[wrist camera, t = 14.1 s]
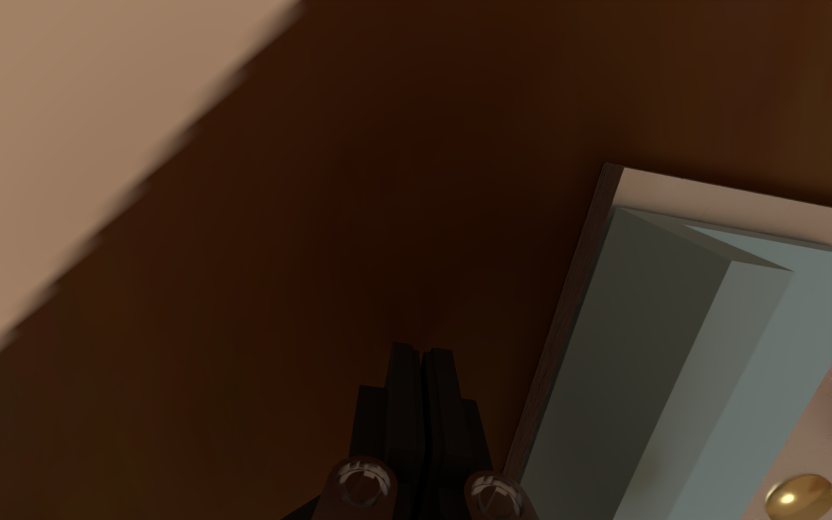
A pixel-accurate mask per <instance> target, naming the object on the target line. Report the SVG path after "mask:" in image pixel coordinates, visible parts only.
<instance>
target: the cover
mask: <svg viewBox="0 0 832 520" xmlns="http://www.w3.org/2000/svg"><path fill="white" fill-rule="evenodd" d="M831 365H832V247H830V246H825V245H820V244H814V243H809V242H804V241H798V240H793V239H787V238H782V237H777V236H771V235H766V234H761V233H755V232H750V231H744V230H739V229H734V228H728V227H723V226H718V225H712V224H707V223H701V222H696V221H691V220H685V219H680V218H675V217H669V216H664V215H659V214H653V213H648V212H642V211H637V210H632V209H626V208H621V207H617V208H616V211H615V214H614V217H613V219H612V222H611V225H610V228H609V231H608V234H607V237H606V240H605V242H604V245H603V248H602V251H601V254H600V257H599V260H598V262H597V265H596V268H595V271H594V274H593V277H592V280H591V282H590V285H589V288H588V291H587V294H586V297H585V300H584V303H583V305H582V308H581V311H580V314H579V317H578V320H577V323H576V325H575V328H574V331H573V334H572V337H571V340H570V343H569V346H568V348H567V351H566V354H565V357H564V360H563V363H562V366H561V368H560V371H559V374H558V377H557V380H556V383H555V386H554V388H553V391H552V394H551V397H550V400H549V403H548V406H547V409H546V411H545V414H544V417H543V420H542V423H541V426H540V429H539V431H538V434H537V437H536V440H535V443H534V446H533V449H532V452H531V454H530V457H529V460H528V463H527V466H526V469H525V472H524V474H523V477H522V480H521V483H520V486H521V487H522V488H523V489H524V491H525V492H526V494H527V495H528V497H529V499H530V501H531V503H532V505H533V507H534V509H535V511H536V513H537V515H538V517H539V520H740V518H741V517H742V515H743V513H744V512H745V510H746V508H747V506H748V505H749V503H750V501H751V500H752V498H753V496H754V495H755V493H756V491H757V490H758V488H759V486H760V485H761V483H762V481H763V479H764V478H765V476H766V474H767V473H768V471H769V469H770V468H771V466H772V464H773V463H774V461H775V459H776V457H777V456H778V454H779V452H780V451H781V449H782V447H783V446H784V444H785V442H786V441H787V439H788V437H789V436H790V434H791V432H792V430H793V429H794V427H795V425H796V424H797V422H798V420H799V419H800V417H801V415H802V414H803V412H804V410H805V408H806V407H807V405H808V403H809V402H810V400H811V398H812V397H813V395H814V393H815V392H816V390H817V388H818V387H819V385H820V383H821V381H822V380H823V378H824V376H825V375H826V373H827V371H828V370H829V368H830V366H831Z"/></svg>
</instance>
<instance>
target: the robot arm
mask: <svg viewBox="0 0 832 520" xmlns="http://www.w3.org/2000/svg"><path fill="white" fill-rule="evenodd" d="M281 520H539V517H538V515H537V513H536V511H535V509H534V507H533V505H532V503H531V501H530V499H529V497H528V495H527V494H526V492H525V491H524V489H523V488H522V487H521V486H520V485H519V484H518V483H517V482H516V481H515V480H513V479H511V478H510V477H508V476H507V475H504V474H502V473H499V472H496V471H493V467H492V463H491V459H490V455H489V451H488V447H487V443H486V439H485V435H484V431H483V427H482V423H481V419H480V415H479V411H478V407H477V404H476V401H474V400H469V399H461V394H460V389H459V384H458V379H457V374H456V369H455V364H454V359H453V354H452V351H451V350H445V349H438V348H432V349H431V352H424V354H423V358H422V363H421V367H420V357H419V351H416V350H413V347H412V345H410V344H403V343H396V342H393V345H392V350H391V355H390V360H389V366H388V371H387V377H386V382H385V387H384V388H379V387H371V386H364V385H360V387H359V393H358V399H357V406H356V412H355V418H354V424H353V431H352V437H351V443H350V450H349V456H348V458H346V459H344V460H341V461H340V462H339V463H338V464H336V465H335V466H334V467H333V469H332V470H331V472H330V474H329V476H328V478H327V481H326V483H325V486H324V488H323V491H322V493H321V495H319V496H318V497H316V498H314V499H313V500H311V501H310V502H308V503H306V504H305V505H303V506H302V507H300V508H298V509H297V510H295V511H294V512H292V513H290V514H289V515H287V516H286V517H284V518H282V519H281Z"/></svg>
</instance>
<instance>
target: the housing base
mask: <svg viewBox="0 0 832 520" xmlns="http://www.w3.org/2000/svg"><path fill="white" fill-rule="evenodd" d="M617 207H621V208H626V209H632V210H637V211H642V212H648V213H653V214H659V215H664V216H669V217H675V218H680V219H685V220H691V221H696V222H701V223H707V224H712V225H718V226H723V227H728V228H734V229H739V230H744V231H750V232H755V233H761V234H766V235H771V236H777V237H782V238H787V239H793V240H798V241H804V242H809V243H814V244H820V245H825V246H830V247H832V206H827V205H822V204H817V203H812V202H807V201H802V200H796V199H791V198H786V197H781V196H776V195H771V194H766V193H761V192H756V191H750V190H745V189H740V188H735V187H730V186H725V185H720V184H715V183H709V182H704V181H699V180H694V179H689V178H684V177H679V176H674V175H669V174H663V173H658V172H653V171H648V170H643V169H638V168H633V167H628V166H623V165H617V164H612V163H607V162H604V164H603V167H602V170H601V173H600V176H599V179H598V182H597V186H596V189H595V192H594V195H593V198H592V201H591V204H590V207H589V210H588V213H587V216H586V219H585V222H584V225H583V228H582V231H581V234H580V237H579V240H578V244H577V247H576V250H575V253H574V256H573V259H572V262H571V265H570V268H569V271H568V274H567V277H566V280H565V283H564V286H563V289H562V292H561V295H560V299H559V302H558V305H557V308H556V311H555V314H554V317H553V320H552V323H551V326H550V329H549V332H548V335H547V338H546V341H545V344H544V347H543V350H542V353H541V357H540V360H539V363H538V366H537V369H536V372H535V375H534V378H533V381H532V384H531V387H530V390H529V393H528V396H527V399H526V402H525V405H524V408H523V411H522V415H521V418H520V421H519V424H518V427H517V430H516V433H515V436H514V439H513V442H512V445H511V448H510V451H509V454H508V457H507V460H506V463H505V466H504V470H503V473H502V474H504V475H507V476H508V477H510V478H511V479H513V480H515V481H516V482H517V483H518V484H519V485H520V483H521V480H522V477H523V474H524V472H525V469H526V466H527V463H528V460H529V457H530V454H531V452H532V449H533V446H534V443H535V440H536V437H537V434H538V431H539V429H540V426H541V423H542V420H543V417H544V414H545V411H546V409H547V406H548V403H549V400H550V397H551V394H552V391H553V388H554V386H555V383H556V380H557V377H558V374H559V371H560V368H561V366H562V363H563V360H564V357H565V354H566V351H567V348H568V346H569V343H570V340H571V337H572V334H573V331H574V328H575V325H576V323H577V320H578V317H579V314H580V311H581V308H582V305H583V303H584V300H585V297H586V294H587V291H588V288H589V285H590V282H591V280H592V277H593V274H594V271H595V268H596V265H597V262H598V260H599V257H600V254H601V251H602V248H603V245H604V242H605V240H606V237H607V234H608V231H609V228H610V225H611V222H612V219H613V217H614V214H615V211H616V208H617ZM740 520H832V365H831V366H830V368H829V370H828V371H827V373H826V375H825V376H824V378H823V380H822V381H821V383H820V385H819V387H818V388H817V390H816V392H815V393H814V395H813V397H812V398H811V400H810V402H809V403H808V405H807V407H806V408H805V410H804V412H803V414H802V415H801V417H800V419H799V420H798V422H797V424H796V425H795V427H794V429H793V430H792V432H791V434H790V436H789V437H788V439H787V441H786V442H785V444H784V446H783V447H782V449H781V451H780V452H779V454H778V456H777V457H776V459H775V461H774V463H773V464H772V466H771V468H770V469H769V471H768V473H767V474H766V476H765V478H764V479H763V481H762V483H761V485H760V486H759V488H758V490H757V491H756V493H755V495H754V496H753V498H752V500H751V501H750V503H749V505H748V506H747V508H746V510H745V512H744V513H743V515H742V517H741V518H740Z"/></svg>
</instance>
